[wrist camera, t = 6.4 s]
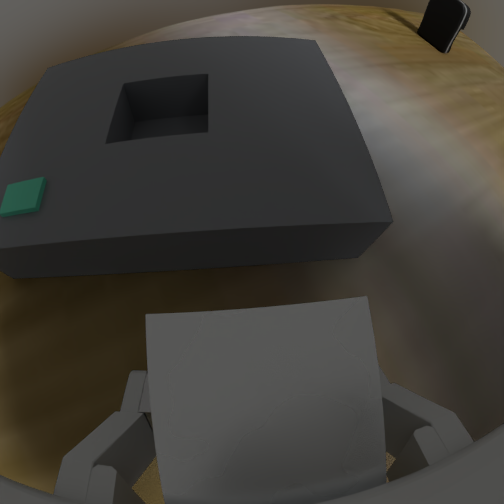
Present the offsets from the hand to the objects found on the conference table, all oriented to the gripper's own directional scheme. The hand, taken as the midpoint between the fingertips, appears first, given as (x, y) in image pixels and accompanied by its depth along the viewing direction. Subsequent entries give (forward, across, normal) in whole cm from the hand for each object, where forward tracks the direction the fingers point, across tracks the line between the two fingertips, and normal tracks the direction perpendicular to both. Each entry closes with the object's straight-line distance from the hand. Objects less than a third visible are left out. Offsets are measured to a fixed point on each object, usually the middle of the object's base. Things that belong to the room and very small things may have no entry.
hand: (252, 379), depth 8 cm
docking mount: (+16, +4, -5) cm, 18 cm away
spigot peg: (+5, 0, +6) cm, 8 cm away
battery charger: (+37, -37, -26) cm, 58 cm away
